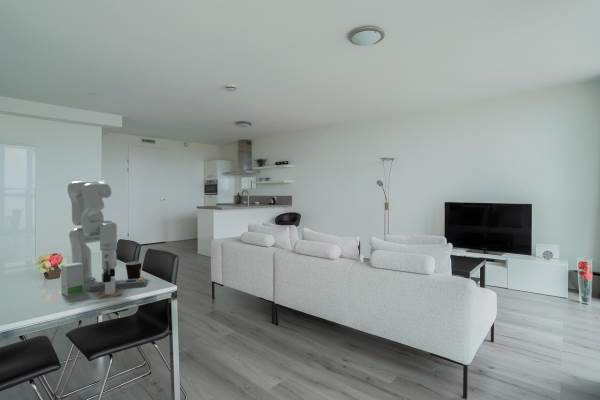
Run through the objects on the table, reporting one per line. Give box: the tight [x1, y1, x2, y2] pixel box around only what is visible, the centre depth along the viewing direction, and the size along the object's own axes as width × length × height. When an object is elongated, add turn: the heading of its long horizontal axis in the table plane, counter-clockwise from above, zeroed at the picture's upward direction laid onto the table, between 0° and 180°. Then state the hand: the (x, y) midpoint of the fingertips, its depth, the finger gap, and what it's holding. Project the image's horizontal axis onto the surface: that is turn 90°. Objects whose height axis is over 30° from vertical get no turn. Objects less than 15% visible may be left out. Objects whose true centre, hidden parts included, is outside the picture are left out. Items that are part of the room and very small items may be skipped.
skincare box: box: [60, 262, 85, 297], centre depth 166 cm, size 8×7×16 cm
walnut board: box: [95, 288, 125, 299], centre depth 164 cm, size 11×11×1 cm
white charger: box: [104, 276, 116, 295], centre depth 164 cm, size 4×3×8 cm
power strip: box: [89, 277, 147, 292], centre depth 176 cm, size 26×8×4 cm, turn 109°
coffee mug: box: [125, 260, 143, 280], centre depth 193 cm, size 12×9×10 cm
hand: (109, 279), depth 164 cm, fingers open, 9 cm apart
